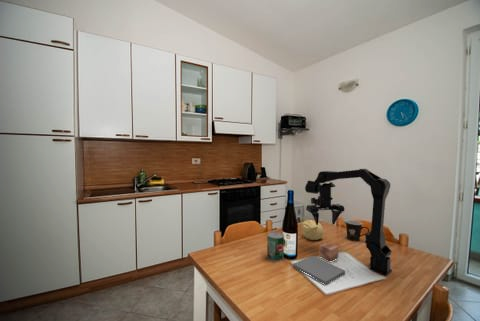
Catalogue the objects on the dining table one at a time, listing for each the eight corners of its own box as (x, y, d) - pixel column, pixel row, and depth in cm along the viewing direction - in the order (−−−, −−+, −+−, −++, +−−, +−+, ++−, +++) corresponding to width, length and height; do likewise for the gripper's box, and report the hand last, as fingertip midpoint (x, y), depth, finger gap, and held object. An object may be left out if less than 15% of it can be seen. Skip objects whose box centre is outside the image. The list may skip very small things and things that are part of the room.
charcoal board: (345, 274, 89) (345, 270, 89) (325, 285, 81) (325, 281, 81) (312, 258, 102) (312, 255, 102) (292, 267, 94) (292, 263, 94)
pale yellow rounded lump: (298, 235, 131) (298, 218, 131) (315, 233, 135) (315, 217, 134) (309, 243, 120) (310, 224, 120) (327, 240, 124) (327, 222, 124)
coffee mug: (342, 237, 129) (342, 221, 128) (351, 235, 132) (352, 219, 132) (360, 245, 118) (360, 227, 118) (369, 242, 122) (370, 225, 122)
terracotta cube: (337, 259, 102) (338, 246, 102) (330, 262, 98) (331, 249, 98) (326, 254, 107) (326, 242, 107) (319, 257, 103) (319, 245, 103)
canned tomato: (283, 262, 98) (283, 238, 98) (266, 260, 100) (266, 237, 99) (283, 254, 106) (283, 232, 106) (267, 252, 107) (268, 231, 107)
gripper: (332, 192, 120) (332, 219, 121) (301, 192, 118) (301, 220, 118) (345, 195, 109) (345, 225, 110) (311, 196, 107) (311, 227, 107)
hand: (325, 224), depth 111 cm, fingers open, 9 cm apart
